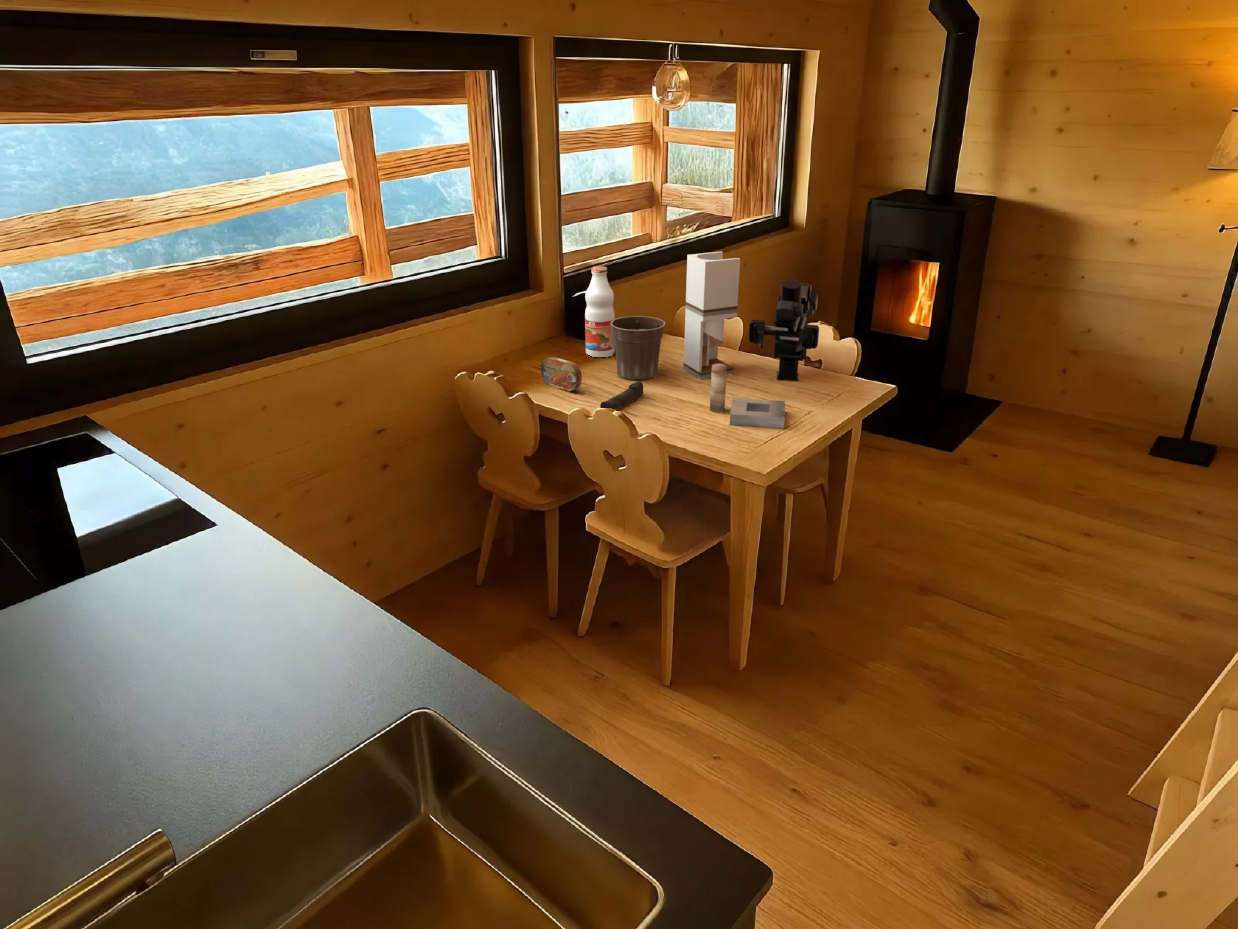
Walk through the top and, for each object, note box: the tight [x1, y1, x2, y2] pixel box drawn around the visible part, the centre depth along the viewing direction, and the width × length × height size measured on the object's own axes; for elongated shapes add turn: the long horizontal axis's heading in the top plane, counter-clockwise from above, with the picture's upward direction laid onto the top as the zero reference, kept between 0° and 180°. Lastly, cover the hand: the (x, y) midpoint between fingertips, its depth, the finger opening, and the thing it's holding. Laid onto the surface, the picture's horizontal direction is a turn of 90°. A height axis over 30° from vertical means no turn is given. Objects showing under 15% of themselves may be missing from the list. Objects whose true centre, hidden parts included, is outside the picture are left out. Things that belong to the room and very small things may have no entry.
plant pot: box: [611, 315, 666, 381], centre depth 253 cm, size 16×16×16 cm
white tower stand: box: [683, 251, 741, 380], centre depth 251 cm, size 11×11×35 cm
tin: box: [540, 356, 583, 392], centre depth 245 cm, size 15×3×8 cm, turn 47°
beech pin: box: [709, 364, 727, 414], centre depth 228 cm, size 4×4×12 cm
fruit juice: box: [584, 265, 616, 358], centre depth 268 cm, size 9×9×28 cm
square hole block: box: [729, 397, 786, 429], centre depth 225 cm, size 12×14×3 cm
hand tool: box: [599, 380, 644, 410], centre depth 233 cm, size 19×4×5 cm, turn 144°
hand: (778, 348), depth 225 cm, fingers open, 9 cm apart
